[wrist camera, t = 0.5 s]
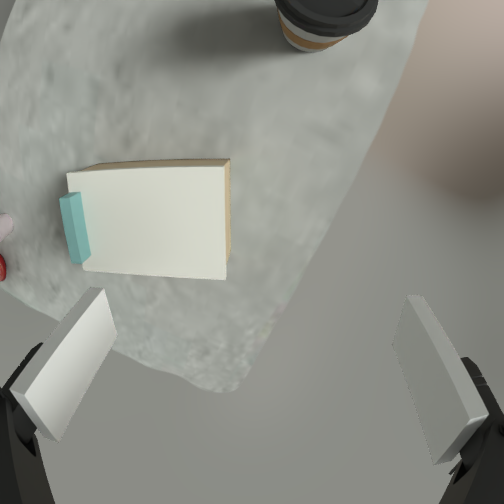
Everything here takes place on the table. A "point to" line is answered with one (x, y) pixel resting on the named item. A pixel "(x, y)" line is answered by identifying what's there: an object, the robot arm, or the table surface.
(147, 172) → the lid
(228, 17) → the table surface
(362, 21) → the coffee cup
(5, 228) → the smoothie
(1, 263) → the liquor
